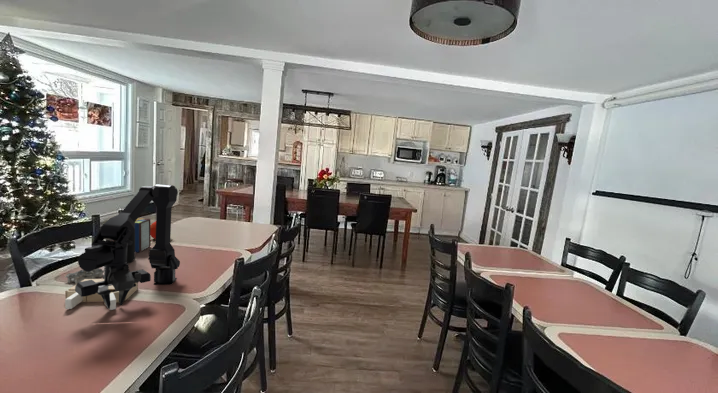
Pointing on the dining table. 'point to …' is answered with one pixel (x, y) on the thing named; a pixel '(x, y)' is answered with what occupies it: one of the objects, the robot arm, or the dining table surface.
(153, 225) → the apple
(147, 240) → the protein box
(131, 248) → the coffee jar
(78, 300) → the flap
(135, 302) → the dining table surface
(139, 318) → the dining table surface
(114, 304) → the flap
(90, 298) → the carton
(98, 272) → the egg carton
